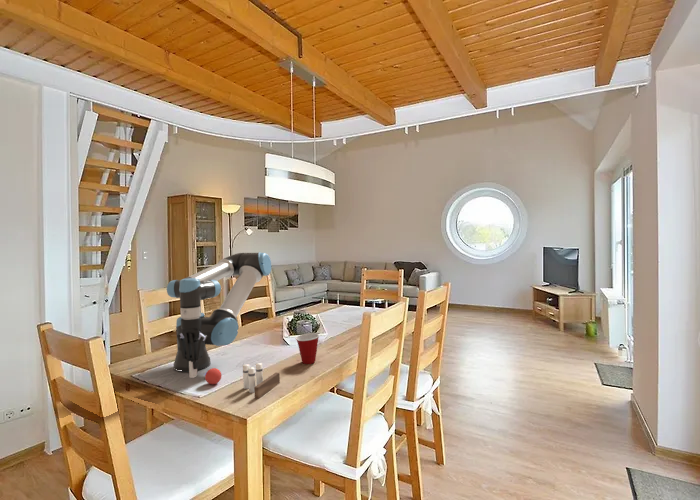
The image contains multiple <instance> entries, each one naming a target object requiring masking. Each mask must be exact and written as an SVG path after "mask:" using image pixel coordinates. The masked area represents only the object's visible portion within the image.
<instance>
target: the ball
mask: <svg viewBox="0 0 700 500" xmlns="http://www.w3.org/2000/svg"><path fill="white" fill-rule="evenodd" d="M204 377H205V378H204V379H205V382H206V383H207V384H209V385H216V384H218V383H220V381H221V379H222V372H221V371H220V369H218V368H213V367H212V368H210V369H208V370H207V372H205V375H204Z"/></svg>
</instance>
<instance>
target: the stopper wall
mask: <svg viewBox="0 0 700 500" xmlns="http://www.w3.org/2000/svg"><path fill="white" fill-rule="evenodd" d="M280 379H281V377H280V372H274V373H273V374H272V375H270V376H268V377H267V378H266V379H263V382H261V383H260V384H258V385H257V386H255V387H254V390H255V392H254V399H257V400H260V399H261V398H262V397H263V396H265V395H266V394H267V393H269V392H270V391H271V390H272V389H274V388H275V387H277V386H278V385H280V383H281V381H280Z"/></svg>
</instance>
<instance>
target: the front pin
mask: <svg viewBox="0 0 700 500" xmlns="http://www.w3.org/2000/svg"><path fill="white" fill-rule="evenodd" d="M248 368H250V364H248V363H246V364H243V365H242V381H243V385H242V386H243V390H249V378H248Z"/></svg>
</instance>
